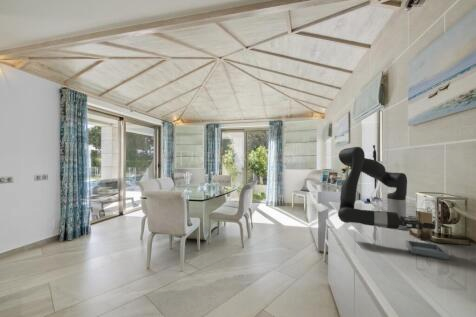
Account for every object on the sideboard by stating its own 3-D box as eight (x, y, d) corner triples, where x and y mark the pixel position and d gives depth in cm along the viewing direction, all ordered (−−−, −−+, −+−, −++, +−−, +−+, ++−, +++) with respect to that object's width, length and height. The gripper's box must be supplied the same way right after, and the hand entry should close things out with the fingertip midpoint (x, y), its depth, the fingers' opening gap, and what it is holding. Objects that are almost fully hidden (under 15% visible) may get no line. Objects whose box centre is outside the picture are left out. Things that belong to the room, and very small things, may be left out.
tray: (405, 245, 103) (405, 240, 103) (438, 250, 97) (437, 244, 97) (411, 254, 92) (411, 248, 92) (448, 260, 87) (448, 253, 87)
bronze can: (415, 235, 98) (415, 210, 99) (430, 237, 96) (430, 212, 96) (419, 238, 94) (419, 213, 94) (434, 240, 92) (434, 214, 92)
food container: (436, 242, 108) (435, 221, 108) (421, 241, 109) (421, 221, 109) (420, 234, 120) (420, 216, 120) (407, 233, 121) (407, 215, 121)
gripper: (387, 214, 96) (438, 219, 88) (383, 208, 108) (427, 213, 100) (387, 231, 95) (438, 238, 87) (383, 224, 108) (427, 229, 100)
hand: (432, 225), depth 94 cm, fingers closed on bronze can, 5 cm apart
